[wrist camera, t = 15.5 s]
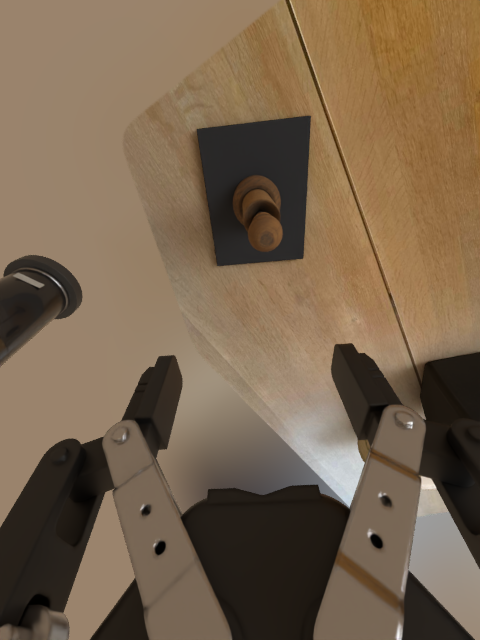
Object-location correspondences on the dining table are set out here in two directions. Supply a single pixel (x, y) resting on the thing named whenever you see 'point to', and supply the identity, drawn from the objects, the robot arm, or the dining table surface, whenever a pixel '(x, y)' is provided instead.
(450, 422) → the flower pot
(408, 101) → the dining table surface
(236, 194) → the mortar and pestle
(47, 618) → the robot arm
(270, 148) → the mat
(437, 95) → the dining table surface
